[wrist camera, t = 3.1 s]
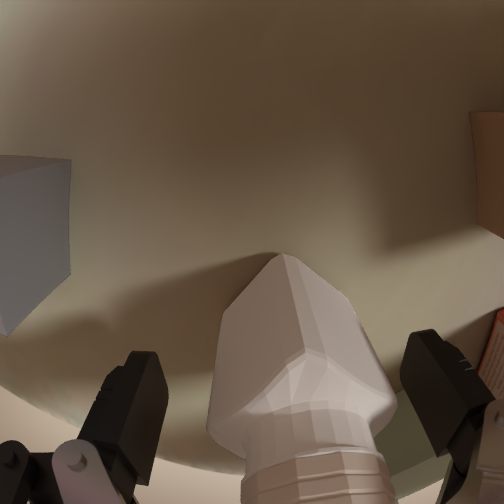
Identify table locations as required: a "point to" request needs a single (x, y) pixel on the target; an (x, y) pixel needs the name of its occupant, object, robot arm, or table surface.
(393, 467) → the sage green block
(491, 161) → the walnut block
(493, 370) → the cracker box
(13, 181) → the slate grey block
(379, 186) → the table surface
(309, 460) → the salt shaker
